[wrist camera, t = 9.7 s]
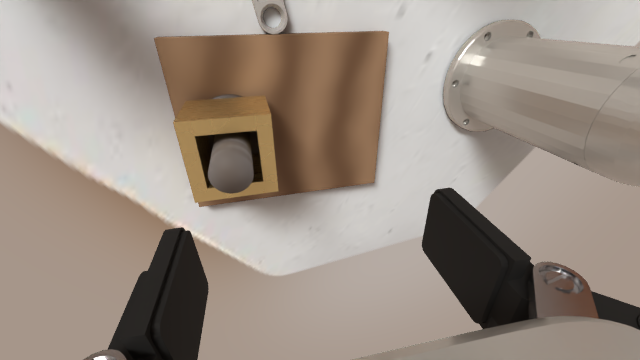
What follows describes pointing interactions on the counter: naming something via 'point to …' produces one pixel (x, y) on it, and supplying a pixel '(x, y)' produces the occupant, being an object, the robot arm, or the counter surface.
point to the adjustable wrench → (260, 4)
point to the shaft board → (287, 103)
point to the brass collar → (220, 119)
